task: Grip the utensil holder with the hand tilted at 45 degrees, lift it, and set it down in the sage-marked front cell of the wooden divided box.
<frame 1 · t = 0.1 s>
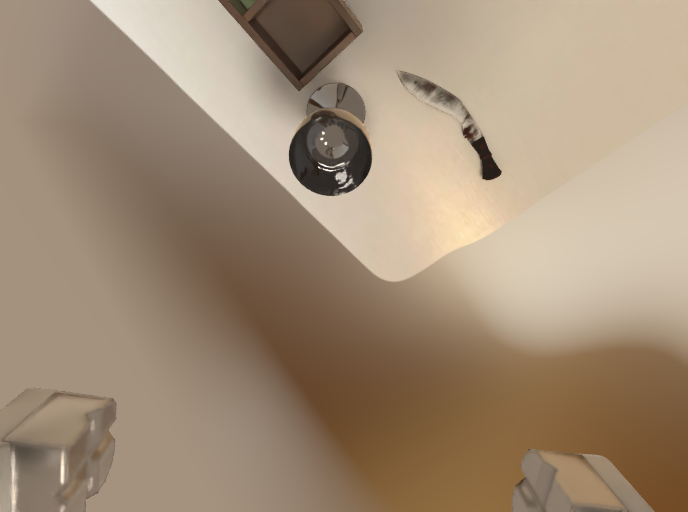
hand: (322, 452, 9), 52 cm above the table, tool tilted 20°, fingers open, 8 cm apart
knife: (451, 121, 58), on the table
wine glass: (336, 112, 58), on the table
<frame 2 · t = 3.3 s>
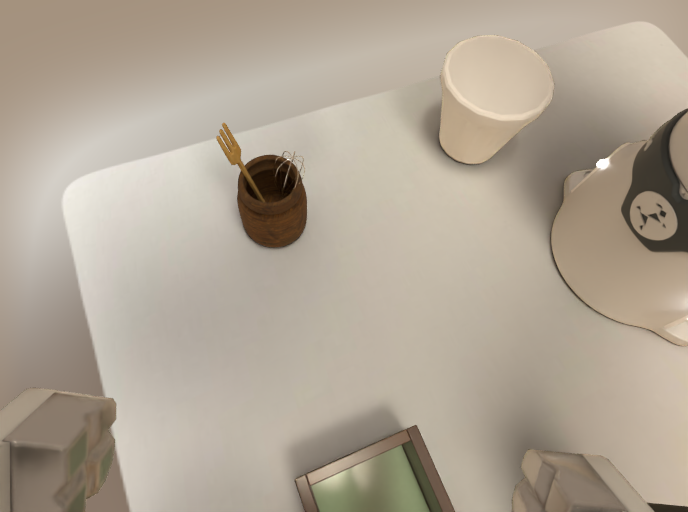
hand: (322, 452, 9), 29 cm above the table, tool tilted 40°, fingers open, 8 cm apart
cup: (466, 142, 50), on the table
utensil holder: (274, 222, 44), on the table
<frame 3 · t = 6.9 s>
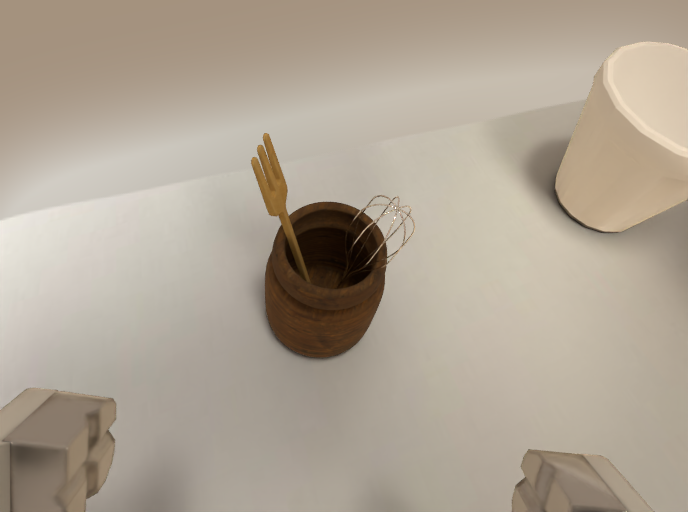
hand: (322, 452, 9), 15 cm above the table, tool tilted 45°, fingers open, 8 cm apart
cup: (592, 200, 34), on the table
utensil holder: (315, 311, 27), on the table
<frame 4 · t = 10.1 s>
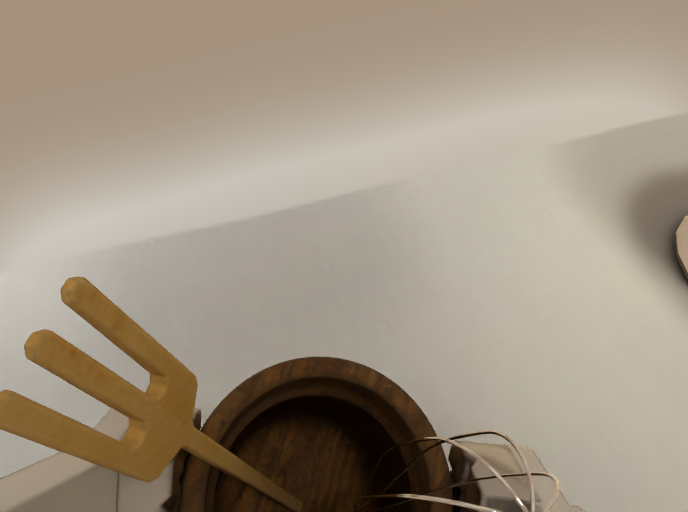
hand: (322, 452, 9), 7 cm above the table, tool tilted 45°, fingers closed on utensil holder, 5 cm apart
utensil holder: (298, 508, 15), on the table, touching gripper
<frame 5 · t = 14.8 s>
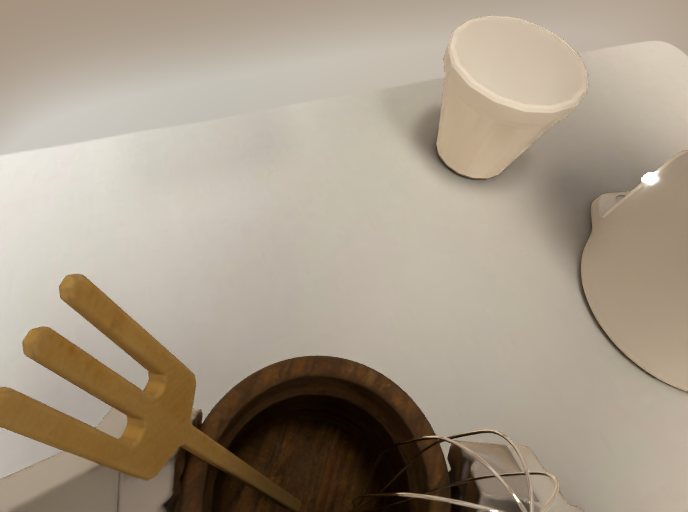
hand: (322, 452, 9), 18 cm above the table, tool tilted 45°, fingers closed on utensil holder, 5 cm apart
cup: (469, 154, 40), on the table
utensil holder: (297, 507, 15), point 12 cm above the table, touching gripper
when the fingers open (7 cm above the table, at t = 19.3 s): utensil holder stays where it is, resting on wooden divided box.
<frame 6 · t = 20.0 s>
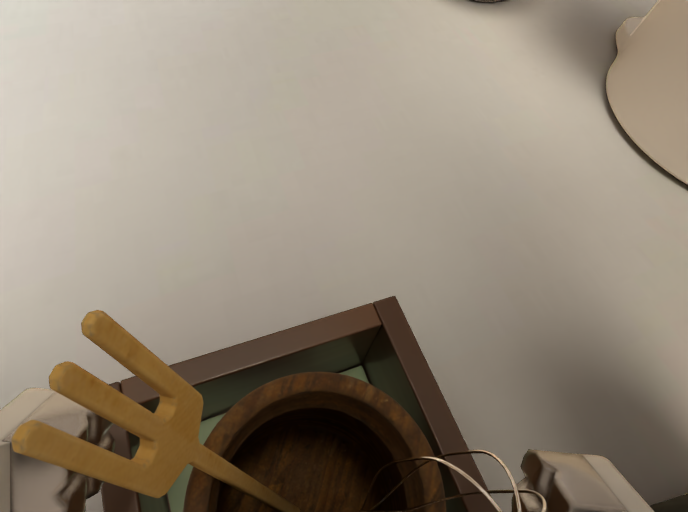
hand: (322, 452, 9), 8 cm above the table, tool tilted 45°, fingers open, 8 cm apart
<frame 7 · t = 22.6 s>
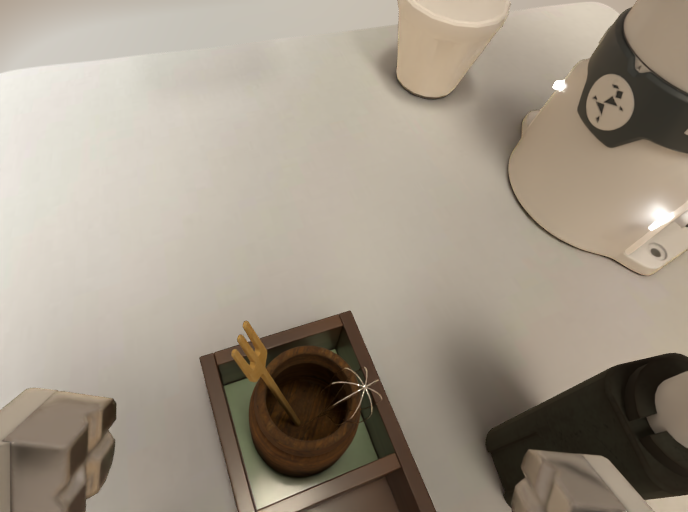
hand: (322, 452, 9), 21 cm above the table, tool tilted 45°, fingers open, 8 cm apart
cup: (424, 81, 49), on the table
utensil holder: (298, 425, 29), point 1 cm above the table, touching wooden divided box
wooden divided box: (322, 495, 27), on the table
candle: (529, 463, 30), on the table
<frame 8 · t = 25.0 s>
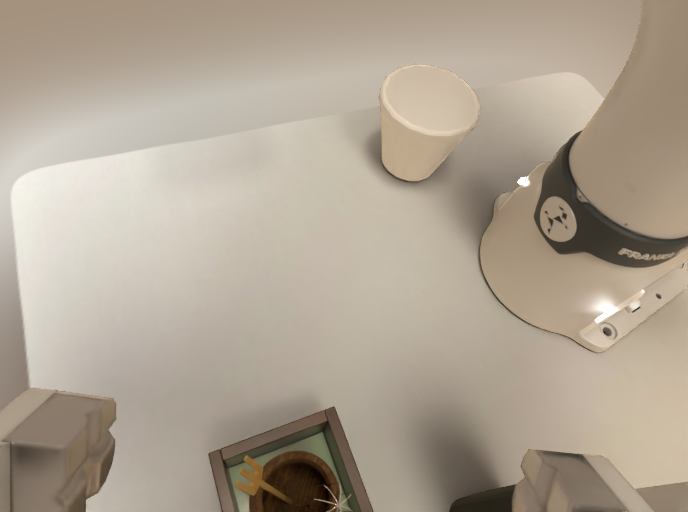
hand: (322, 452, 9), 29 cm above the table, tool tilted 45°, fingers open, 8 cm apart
cup: (407, 163, 54), on the table
utensil holder: (290, 502, 34), point 1 cm above the table, touching wooden divided box
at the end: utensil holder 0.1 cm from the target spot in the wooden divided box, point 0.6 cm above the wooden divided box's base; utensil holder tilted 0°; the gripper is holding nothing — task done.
